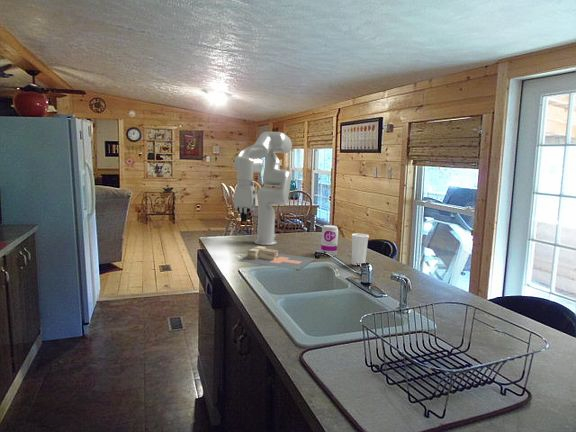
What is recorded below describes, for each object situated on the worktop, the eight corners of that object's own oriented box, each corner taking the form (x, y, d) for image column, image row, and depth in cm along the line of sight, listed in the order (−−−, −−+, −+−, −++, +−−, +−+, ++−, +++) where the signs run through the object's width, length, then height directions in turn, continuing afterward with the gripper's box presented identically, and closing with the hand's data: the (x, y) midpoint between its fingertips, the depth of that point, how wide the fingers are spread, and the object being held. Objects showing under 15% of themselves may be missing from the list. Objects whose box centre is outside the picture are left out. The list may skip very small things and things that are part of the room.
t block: (258, 253, 216) (258, 245, 216) (280, 256, 212) (281, 248, 211) (247, 258, 205) (247, 250, 204) (270, 261, 201) (271, 253, 200)
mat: (260, 251, 222) (260, 251, 222) (315, 259, 212) (315, 258, 212) (237, 261, 200) (237, 260, 200) (298, 270, 189) (298, 269, 189)
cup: (368, 264, 207) (370, 234, 205) (365, 267, 199) (367, 237, 197) (351, 262, 209) (353, 232, 207) (348, 265, 202) (349, 235, 200)
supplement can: (335, 257, 217) (337, 228, 215) (319, 256, 218) (321, 226, 216) (337, 254, 225) (339, 225, 223) (321, 252, 226) (323, 224, 224)
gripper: (262, 184, 209) (261, 222, 211) (235, 182, 214) (234, 219, 216) (255, 184, 202) (254, 223, 204) (227, 182, 207) (226, 220, 209)
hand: (244, 221), depth 210 cm, fingers closed
